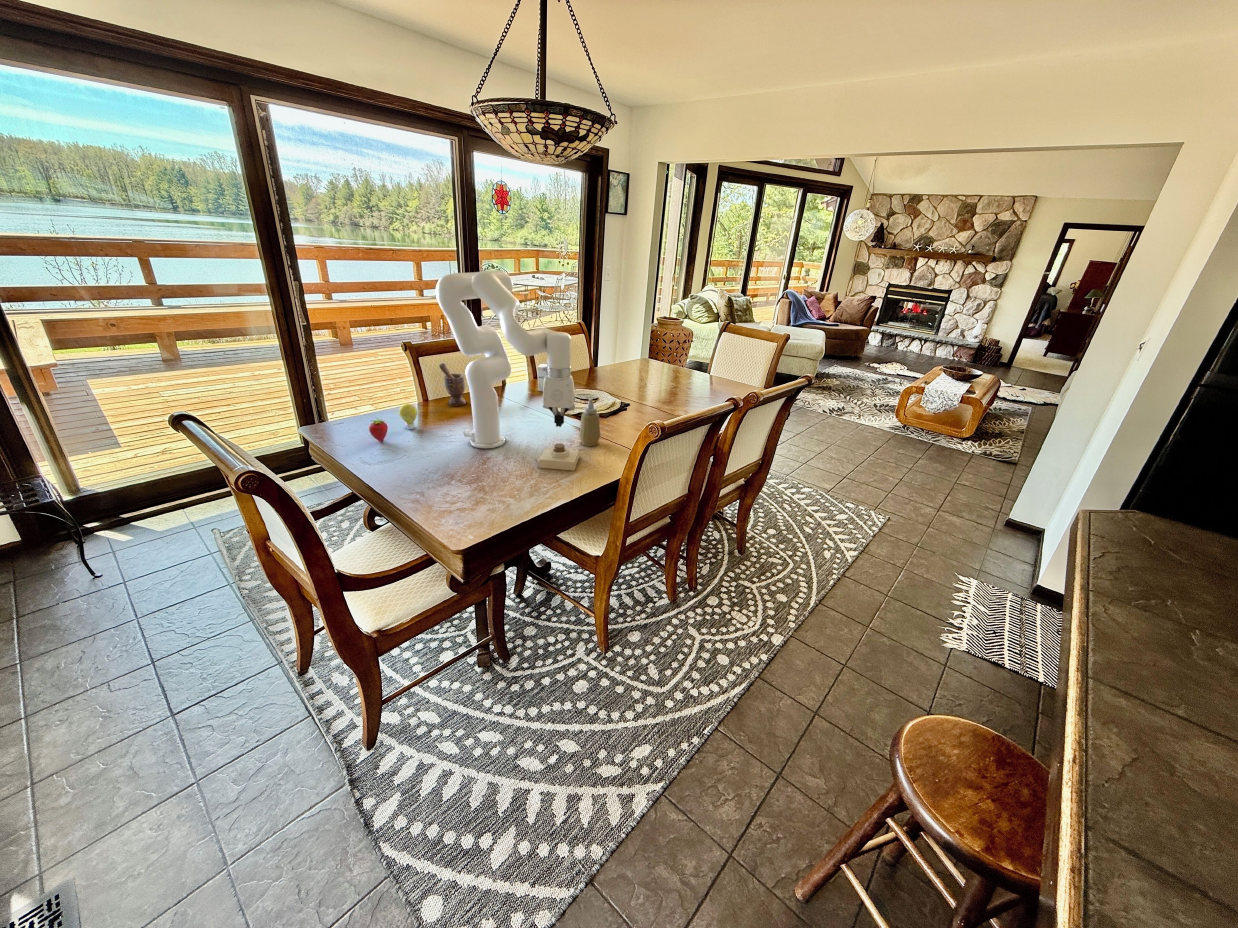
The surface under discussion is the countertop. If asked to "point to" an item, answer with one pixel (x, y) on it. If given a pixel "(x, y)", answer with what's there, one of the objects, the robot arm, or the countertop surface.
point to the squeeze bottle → (590, 425)
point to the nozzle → (559, 448)
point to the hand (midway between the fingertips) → (559, 425)
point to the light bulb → (408, 414)
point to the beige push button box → (559, 459)
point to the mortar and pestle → (454, 386)
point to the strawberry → (378, 429)
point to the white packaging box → (541, 376)
